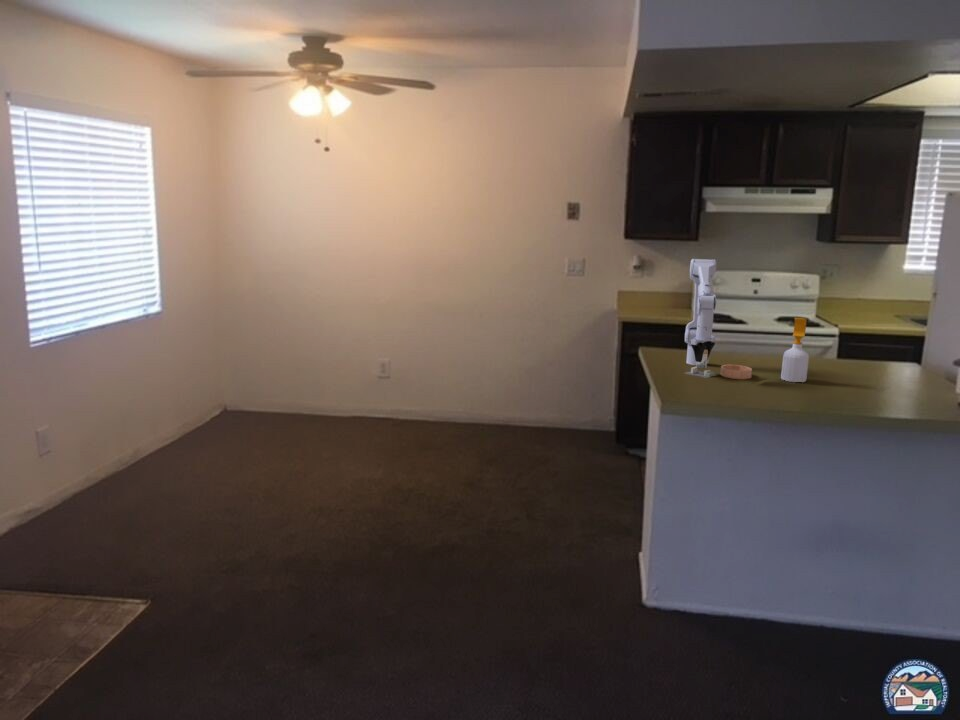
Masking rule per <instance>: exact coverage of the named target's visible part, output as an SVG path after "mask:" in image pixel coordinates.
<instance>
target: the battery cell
mask: <svg viewBox="0 0 960 720" xmlns="http://www.w3.org/2000/svg"><path fill="white" fill-rule="evenodd" d="M707 355H708V349H705V350H704V352H703V357H702V361H701V362H696V365H695V367H697V369H707V365H708V363H707Z"/></svg>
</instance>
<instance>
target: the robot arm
mask: <svg viewBox="0 0 960 720" xmlns="http://www.w3.org/2000/svg"><path fill="white" fill-rule="evenodd" d="M716 270H717V260H716V259H705V258H704V259H703V258H702V259H701V258H692V259H691V260H690V264H689V280H692V281H693V283H694V299H693V314H692V315H693V316H692V317H693V318H692V319H693V320H692V321H690V322H688V323H687V324H686V326H685V332H684V343H685V344H687V348H686V349H687V351H686V364H688V365H692V366H696V362H701V361H702V357H703V352H704V350H705V349H708V355H707V364H709V360H710V354H711V352H712V350H713V348H714V346H715V345H716V343H715V341H716V337H717V336H716V335H713V334H712V333H713V322H714V312H715V310H716V308H717V297H716V296H717V295H716V294H715V293H714V285H713V283H711V281H713V279H714V277H715V274H716Z"/></svg>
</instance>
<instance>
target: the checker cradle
mask: <svg viewBox="0 0 960 720" xmlns="http://www.w3.org/2000/svg"><path fill="white" fill-rule="evenodd" d="M684 374H687V375H689V376H695V377H701V378H705V379H707V378H711V377H715V376H717V374H716V373H715V371H711V369H705V370H703V371H700V370H698V367H696V366H694V367H693V366H692V367H691V368H690V371H686V372H684Z"/></svg>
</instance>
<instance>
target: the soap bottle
mask: <svg viewBox="0 0 960 720" xmlns="http://www.w3.org/2000/svg"><path fill="white" fill-rule="evenodd" d="M806 328H807V318H803V317H794V326H793V334H792V337H793V338H794V339H795V341H792V347H791V348H789V349H787V350H784V353H783V356H782V365H781V373H780V374H781V375H780V379H781V380H782V381H784V380H785V381H784V382H788V383H795V382H802V383H805V382H806V381H807V377H808V368H809V360H810V356H809V353H808V352H807V351H806V350H804V349H803V342H802V341H801V340H802V339H803V338H805V335H806Z"/></svg>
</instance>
